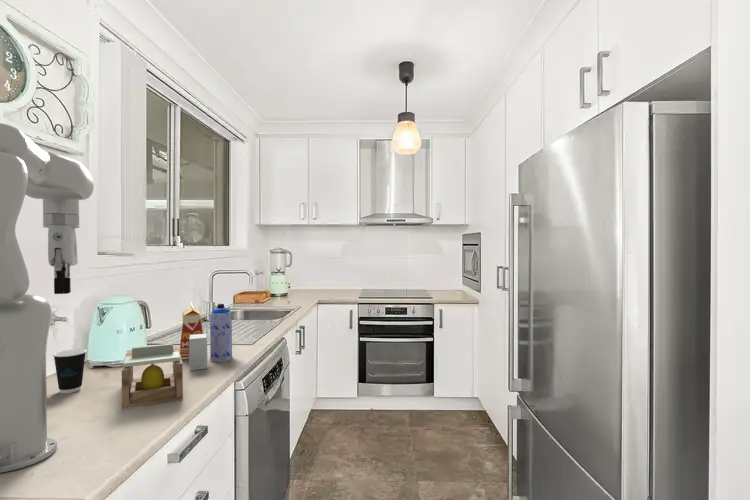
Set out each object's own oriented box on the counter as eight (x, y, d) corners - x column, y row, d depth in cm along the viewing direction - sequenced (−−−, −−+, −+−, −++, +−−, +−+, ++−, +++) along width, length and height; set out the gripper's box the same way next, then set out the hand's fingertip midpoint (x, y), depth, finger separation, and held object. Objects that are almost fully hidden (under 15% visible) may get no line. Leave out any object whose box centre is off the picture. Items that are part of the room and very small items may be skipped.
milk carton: (178, 354, 162) (177, 302, 162) (204, 352, 166) (203, 300, 166) (178, 360, 154) (177, 305, 154) (205, 357, 158) (205, 303, 158)
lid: (180, 360, 116) (179, 347, 116) (124, 367, 110) (124, 353, 110) (178, 355, 122) (178, 342, 122) (125, 360, 116) (125, 348, 116)
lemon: (153, 397, 113) (152, 367, 113) (136, 395, 114) (136, 366, 114) (169, 391, 118) (168, 362, 118) (152, 389, 120) (152, 360, 120)
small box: (207, 368, 143) (207, 337, 143) (189, 370, 141) (188, 339, 141) (207, 363, 151) (207, 333, 151) (190, 364, 149) (189, 334, 149)
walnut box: (182, 399, 114) (182, 363, 114) (122, 409, 108) (121, 370, 108) (178, 375, 135) (178, 345, 135) (127, 382, 129) (127, 350, 129)
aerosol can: (237, 356, 159) (236, 303, 159) (222, 362, 151) (222, 305, 151) (219, 355, 161) (219, 302, 161) (205, 360, 154) (204, 305, 154)
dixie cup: (77, 384, 128) (76, 347, 128) (93, 388, 124) (92, 350, 124) (47, 392, 121) (46, 353, 121) (62, 396, 117) (62, 356, 117)
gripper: (74, 220, 105) (75, 295, 105) (83, 223, 118) (84, 290, 118) (36, 220, 101) (37, 297, 101) (49, 223, 115) (50, 291, 115)
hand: (62, 293), depth 110 cm, fingers closed
